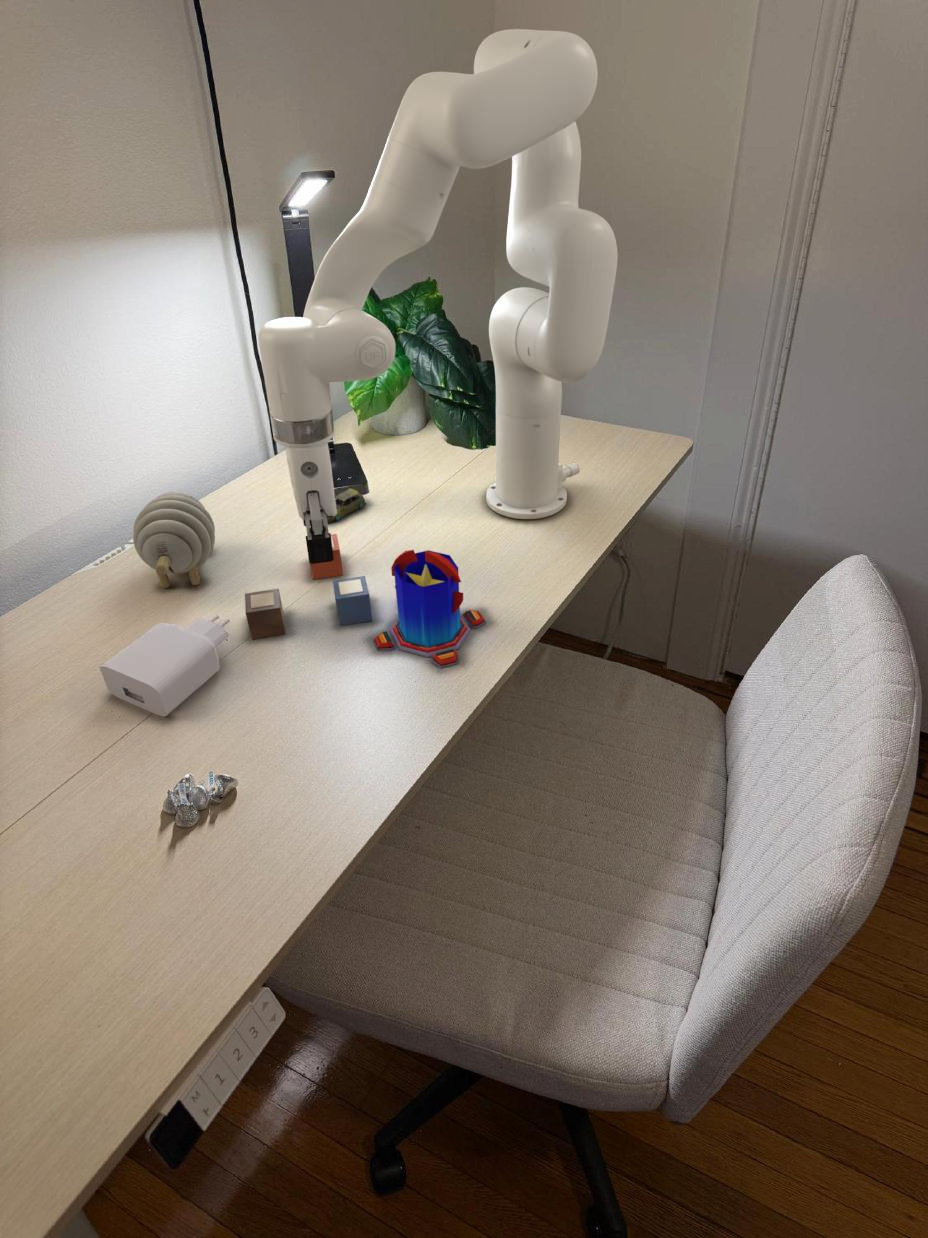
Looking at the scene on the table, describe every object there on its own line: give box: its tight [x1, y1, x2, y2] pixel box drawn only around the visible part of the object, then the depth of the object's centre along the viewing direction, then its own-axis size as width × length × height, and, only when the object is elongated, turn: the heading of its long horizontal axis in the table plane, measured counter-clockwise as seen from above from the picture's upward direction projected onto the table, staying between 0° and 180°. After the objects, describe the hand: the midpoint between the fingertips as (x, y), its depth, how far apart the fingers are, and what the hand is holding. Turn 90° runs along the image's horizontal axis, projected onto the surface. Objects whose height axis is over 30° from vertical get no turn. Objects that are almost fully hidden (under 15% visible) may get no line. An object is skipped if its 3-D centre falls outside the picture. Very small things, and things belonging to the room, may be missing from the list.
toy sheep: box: [132, 491, 216, 589], centre depth 111 cm, size 11×17×11 cm, turn 10°
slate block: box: [332, 575, 373, 626], centre depth 105 cm, size 4×4×4 cm
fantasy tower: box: [372, 549, 488, 669], centre depth 99 cm, size 12×12×12 cm
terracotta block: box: [309, 533, 344, 580], centre depth 113 cm, size 4×4×4 cm
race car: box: [327, 487, 367, 524], centre depth 126 cm, size 4×8×2 cm, turn 138°
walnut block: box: [244, 588, 287, 640], centre depth 103 cm, size 4×4×4 cm
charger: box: [99, 614, 231, 718], centre depth 97 cm, size 5×9×15 cm
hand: (318, 542), depth 111 cm, fingers open, 9 cm apart
